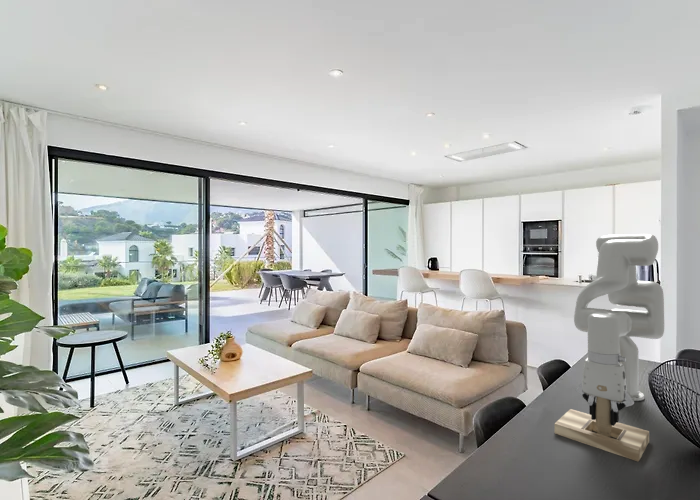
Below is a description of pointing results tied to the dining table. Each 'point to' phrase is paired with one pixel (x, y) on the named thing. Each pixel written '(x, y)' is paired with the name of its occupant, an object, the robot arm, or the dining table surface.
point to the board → (581, 427)
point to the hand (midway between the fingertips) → (603, 420)
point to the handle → (603, 414)
